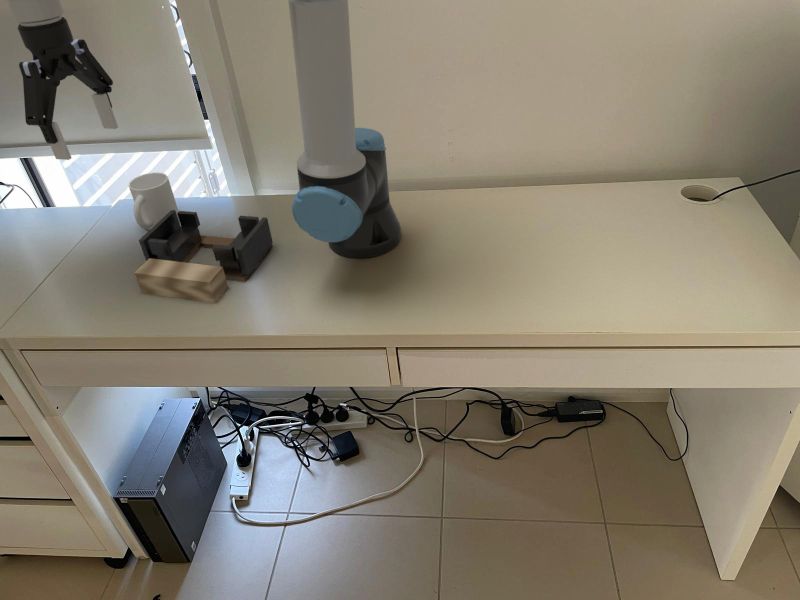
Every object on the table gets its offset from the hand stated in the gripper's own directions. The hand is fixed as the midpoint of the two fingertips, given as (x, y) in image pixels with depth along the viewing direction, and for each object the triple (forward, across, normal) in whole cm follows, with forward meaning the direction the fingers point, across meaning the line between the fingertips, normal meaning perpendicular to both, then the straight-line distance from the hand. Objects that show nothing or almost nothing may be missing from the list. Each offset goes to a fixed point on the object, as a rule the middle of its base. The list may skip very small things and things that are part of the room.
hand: (88, 142), depth 117 cm
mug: (+26, -13, -2) cm, 29 cm away
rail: (+26, +8, +17) cm, 32 cm away
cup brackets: (+26, -3, +17) cm, 31 cm away
